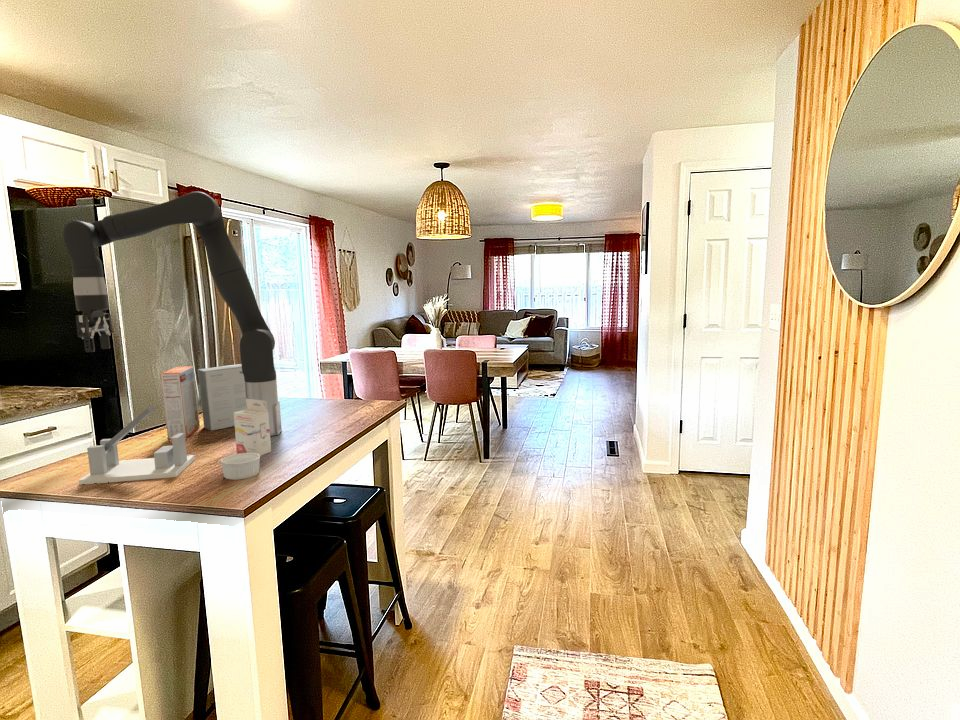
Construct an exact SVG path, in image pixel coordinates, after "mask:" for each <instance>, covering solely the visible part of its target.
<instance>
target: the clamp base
mask: <svg viewBox="0 0 960 720" xmlns="http://www.w3.org/2000/svg"><path fill="white" fill-rule="evenodd" d="M111 439H112V438H102V439H101V440H100V441H99V444H100V445H89V446H88V447H87V448H86V450H87V458H88V464H89V465H88V466H89V473H87V474H86V475H84V476H83V477H81V478H80V479H78V485H79V486H82V484H85V485H95V484H94V483H97V484H106V483H107V484H108V482H109V483H117V482H130V481H143V480H144V481H145V480H157V479H168V478H177V477H178V476H179V475H180V474H181V473H182V472H183V471H184V470H185V469H187V467H189V465H191V464H192V463H193V462H194V461H195V460H196V455H195V454H192V455H191V454H189V455H188V454H187V445H186V444H187V443H186V438H185V433H178V434H177V435H174V436H172V437H171V438H170V440H169V441H170V443H171V444H172V445H163V446H161V447H160V448H158V449H157V450H155V452H153V457H149V458H136V459H135V458H134V459H124V460H123V459H122V460H120V459H119V451H118V442H117V443H116V444H115V445H114V446H113V447H112V448H111V451H110V452H109V453H107V454H105V446H104V445H105V444H106V443H107V442H109V441H110V440H111Z"/></svg>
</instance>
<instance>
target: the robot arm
mask: <svg viewBox="0 0 960 720" xmlns="http://www.w3.org/2000/svg"><path fill="white" fill-rule="evenodd" d="M182 224H193V225H194V227H195V229H196V230H197V232H198V234H199V236H200V237H201V240H202V242H203V245H204V248H205V251H206V252H205V253H206V257H207V262H208V263H207V264H208V267H209V271H210V274H211V277H212V279H213V281H214V284H215V287H216V288H217V290H218V292H219V295H220V297H221V298H222V300H223V301H224V302H225V304H226V306H227V308H229V309H230V311H231V313H232V314H233V315H234V318H235V320H236V321H237V323H238V326H239V329H240V333H241V334H242V336H241V338H240V340H239V355H240V364H241V365H242V372H243V375H244V381H245V394H246V399H253V400H261V401H266V402H267V409H268V415H269V428H270V437H273V436H279V434H280V433H281V432H282V431H283V430H282V428H283V427H282V416H281V404H280V401H279V397H278V395H279V394H278V383H277V371H276V368H275V364H274V363H275V362H274V349H275V345H276V340H275V337H274V334H273V333H272V331H271V329H270V328H269V326H268V325H267V323H266V320H265V319H264V317H263V315H262V313H261V310H260V308H259V305H258V302H257V298H256V295H255V292H254V290H253V288H252V284H251V282H250V279H249V277H248V274H247V272H246V270H245V267H244V265H243V264H242V263H243V262H242V261H241V258H240V256H239V254H238V253H237V250H236V248H235V247H234V245H233V243H232V241H231V239H230V236H229V234H228V231H227V228H226V225H225V222H224V219H223V215H222V212H221V208H220V206H219V203H218V202H217V201H216V200H215V199H214V198H213V197H212V196H210V195H209V194H207V193H205V192H202V191H191V192H189V193H187V194H183V195H181V196H178V197H176V198H173V199H172V200H167V201H165V202H162V203H159V204H155V205H152V206H147V207H143V208H139V209H133V210H129V211H128V210H127V211H123V212H120V213H114V214H110V215H106V216H104V217H103V218H102V219H100V220H96V221H91V222H90V221H89V222H86V221H82V220H77V219H75V220H70V221H68V222H67V223H66V224H65V225H64V226H63V227H62V228H63V229H62V239H63V243H64V247H65V248H66V252H67V254H68V257H69V260H70V263H71V270H72V278H73V281H72V283H73V284H72V285H73V286H72V287H73V294H74V301H75V308H76V311H78V312H82V314H81V315H80V314H78V315H75V322H76V323H75V325H76V333H77V337H78V338H81V339H82V340H83V344H84V351H85V352H86V353H94V352H95V351H96V347H95V346H96V345H95V339H94V336H95V333H97V334H98V335H99V342H100V343H99V344H100V349H102V350H109V349H111V341H110V336H111V334H114V328H113V327H114V326H113V321H112V316H111V315H112V314H111V313H108V312H107V313H106V312H104V311H107V310H109V309H110V306H109V298H108V292H107V291H108V290H107V285H106V280H105V276H104V269H103V268H104V267H103V262H102V260H101V259H100V258H99V256H97V253H96V251H95V248H99V247H103V246H106V245H108V244H111V243H114V242H115V241H122V240H127V239H131V238H135V237H140V236H143V235H146V234H151V233H152V232H154V231H156V230H159V229H162V228H165V227H169V226H174V225H182ZM253 405H254V406H260V404H257V403H255V404H254V403H253ZM246 406H247V404H246Z"/></svg>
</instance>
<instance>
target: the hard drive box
mask: <svg viewBox="0 0 960 720" xmlns="http://www.w3.org/2000/svg"><path fill="white" fill-rule="evenodd" d="M197 375H198V386H199V394H200V403H201V411H202V421H203V427H204V428H205V429H206V430H208V431H210V432H211V431H216V430H217V431H218V430H220V429H221V430H223V429H226V428H227V429H228V428H230V427H235V424H234V412H238V411H242V410H246V409H247V406H246V394H245V381H244V375H243V372H242V365H241V363H238V364H230V365H222V366H215V367H206V368H198V369H197Z"/></svg>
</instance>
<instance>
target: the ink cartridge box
mask: <svg viewBox="0 0 960 720" xmlns="http://www.w3.org/2000/svg"><path fill="white" fill-rule="evenodd" d="M253 403H254V404H255V403H257V404H260V406H254V405H253ZM246 404H247V409H246V410H242V411H238V412H234V424H235V426H234V434H235V446H236V447H235V448H236V454H239V453H257V454H259V455H260V457H261V456H264V455H266V454H269V453H271V452H272V444H271V436H270V428H269V415H268V409H267V402H266V401H261V400H253V399H246Z"/></svg>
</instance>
